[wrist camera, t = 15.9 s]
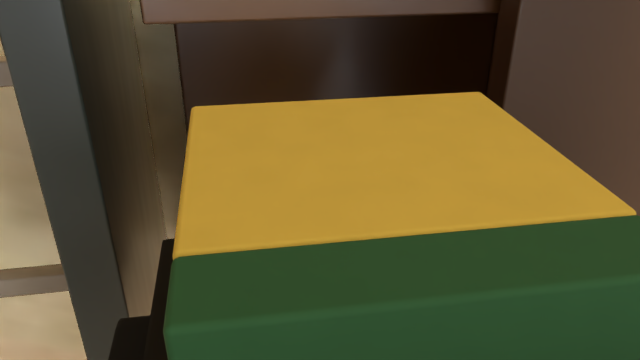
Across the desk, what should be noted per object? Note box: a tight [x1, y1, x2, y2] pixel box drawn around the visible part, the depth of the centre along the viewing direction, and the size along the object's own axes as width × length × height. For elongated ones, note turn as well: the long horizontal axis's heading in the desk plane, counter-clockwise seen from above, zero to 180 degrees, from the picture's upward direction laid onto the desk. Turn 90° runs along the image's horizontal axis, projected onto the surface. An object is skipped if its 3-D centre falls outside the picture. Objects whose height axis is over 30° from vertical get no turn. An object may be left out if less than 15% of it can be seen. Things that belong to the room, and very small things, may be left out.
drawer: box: [0, 0, 501, 360], centre depth 16 cm, size 18×12×7 cm, turn 90°
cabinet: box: [487, 0, 640, 216], centre depth 17 cm, size 15×13×9 cm
